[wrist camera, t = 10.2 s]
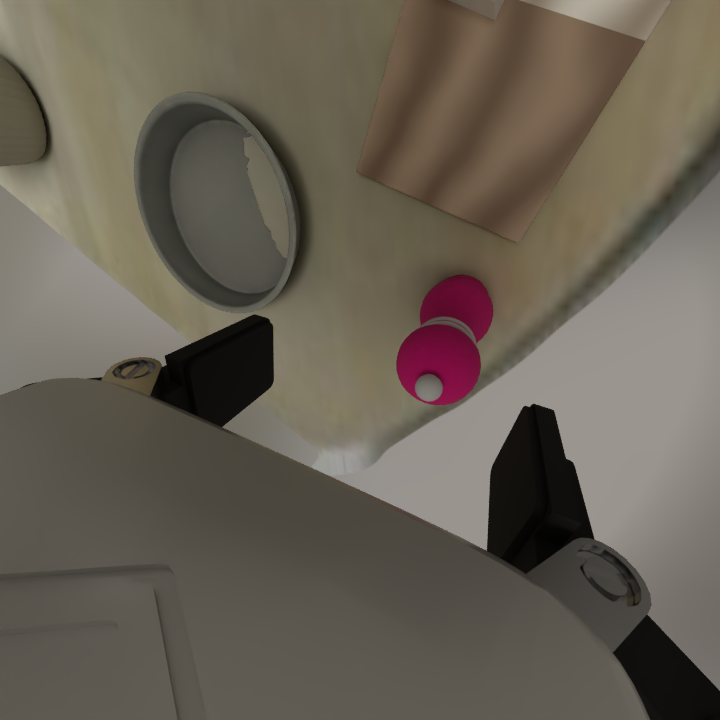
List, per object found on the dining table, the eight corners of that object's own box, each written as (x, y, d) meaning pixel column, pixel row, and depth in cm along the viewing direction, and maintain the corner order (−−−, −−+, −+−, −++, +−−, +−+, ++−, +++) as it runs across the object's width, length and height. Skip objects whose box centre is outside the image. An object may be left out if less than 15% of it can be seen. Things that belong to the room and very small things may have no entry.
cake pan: (279, 334, 48) (261, 346, 45) (158, 247, 50) (131, 252, 46) (344, 172, 34) (326, 170, 31) (172, 57, 36) (134, 42, 32)
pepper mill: (422, 322, 38) (365, 418, 22) (436, 264, 35) (381, 328, 18) (481, 338, 37) (466, 455, 20) (503, 278, 33) (507, 363, 17)
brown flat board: (361, 172, 33) (356, 172, 32) (465, -184, 21) (463, -207, 20) (518, 241, 31) (518, 243, 30) (741, -118, 18) (758, -140, 17)
